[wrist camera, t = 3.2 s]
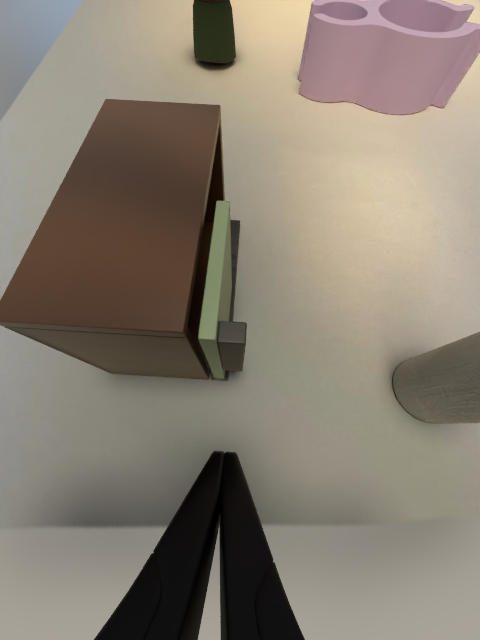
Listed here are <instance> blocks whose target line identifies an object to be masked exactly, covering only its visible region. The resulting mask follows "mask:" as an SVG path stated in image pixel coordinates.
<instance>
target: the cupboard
mask: <svg viewBox="0 0 480 640" xmlns="http://www.w3.org/2000/svg"><path fill="white" fill-rule="evenodd" d="M217 201H225V195H224V174H223V152H222V130H221V109H220V105H208V104H189V103H171V102H152V101H133V100H115V99H106V100H105V101H104V103H103V105H102V107H101V109H100V111H99V113H98V115H97V117H96V119H95V121H94V122H93V124H92V126H91V128H90V130H89V132H88V134H87V136H86V138H85V140H84V142H83V144H82V145H81V147H80V149H79V151H78V153H77V155H76V157H75V159H74V161H73V163H72V165H71V166H70V168H69V170H68V172H67V174H66V176H65V178H64V180H63V182H62V184H61V186H60V187H59V189H58V191H57V193H56V195H55V197H54V199H53V201H52V203H51V205H50V207H49V209H48V210H47V212H46V214H45V216H44V218H43V220H42V222H41V224H40V226H39V228H38V230H37V231H36V233H35V235H34V237H33V239H32V241H31V243H30V245H29V247H28V249H27V251H26V253H25V254H24V256H23V258H22V260H21V262H20V264H19V266H18V268H17V270H16V272H15V274H14V275H13V277H12V279H11V281H10V283H9V285H8V287H7V289H6V291H5V293H4V295H3V296H2V298H1V300H0V325H1V326H4V327H5V328H8V329H10V330H12V331H15V332H17V333H19V334H21V335H24V336H26V337H28V338H31V339H33V340H35V341H38V342H40V343H42V344H44V345H47V346H49V347H51V348H54V349H56V350H58V351H61V352H63V353H65V354H68V355H70V356H72V357H74V358H77V359H79V360H81V361H84V362H86V363H88V364H91V365H93V366H95V367H97V368H100V369H102V370H104V371H107V372H109V373H112V374H129V375H145V376H161V377H177V378H193V379H209V374H210V366H209V364H208V361H207V359H206V356H205V354H204V352H203V349H202V347H201V345H200V342H199V340H198V333H199V326H200V319H201V311H202V304H203V297H204V289H205V282H206V275H207V267H208V260H209V253H210V245H211V238H212V231H213V223H214V216H215V209H216V202H217ZM230 227H231V269H232V292H231V304H230V316H229V322H233V310H234V297H235V284H236V271H237V258H238V244H239V231H240V221H238V220H230ZM228 375H229V371H228V370H225V376H224V379H220V378H214V375H213V373H212V375H211V379H212V380H225V381H228Z"/></svg>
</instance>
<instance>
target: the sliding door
mask: <svg viewBox="0 0 480 640" xmlns="http://www.w3.org/2000/svg"><path fill="white" fill-rule="evenodd" d="M231 292H232V269H231V227H230V202H229V201H217V202H216V209H215V216H214V223H213V231H212V238H211V245H210V253H209V260H208V267H207V275H206V282H205V289H204V297H203V304H202V311H201V319H200V326H199V333H198V340H199V342H200V345H201V347H202V349H203V352H204V354H205V356H206V359H207V361H208V364H209V366H210V368H211V371H212V373H213V375H214V378H220V379H224V376H225V370H228V371H242V369H243V361H244V353H245V345H246V328H247V324H246V323H245V322H229V316H230V304H231Z"/></svg>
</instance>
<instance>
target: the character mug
mask: <svg viewBox="0 0 480 640" xmlns="http://www.w3.org/2000/svg"><path fill="white" fill-rule="evenodd" d="M193 36H194V54H195V58H196V59H198V60H200V61H205V62H214V64H215V65H218V63H228V62H231V61H233V60H234V58H235V57H236V52H235V36H234V26H233V15H232V7H231V4H230V0H194V4H193Z"/></svg>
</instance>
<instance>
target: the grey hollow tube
mask: <svg viewBox="0 0 480 640" xmlns="http://www.w3.org/2000/svg"><path fill="white" fill-rule="evenodd" d="M393 387H394V391H395V394H396V396H397V398H398V400H399V402H400V403H401V405H402V406H403V407H404V408H405V409H406V410H407V411H408V412H409V413H410V414H411V415H413V416H414V417H416V418H417V419H419V420H422V421H425V422H429V423H480V332H478V333H475V334H473V335H470V336H468V337H465V338H463V339H460V340H457V341H455V342H452V343H450V344H447V345H445V346H442V347H439V348H437V349H434V350H432V351H429V352H427V353H424V354H421V355H419V356H416V357H414V358H411V359H409V360H407V361H405V362H403V363H401V364H400V365H399V366H398V367H397V369H396V371H395V373H394V376H393Z"/></svg>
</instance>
